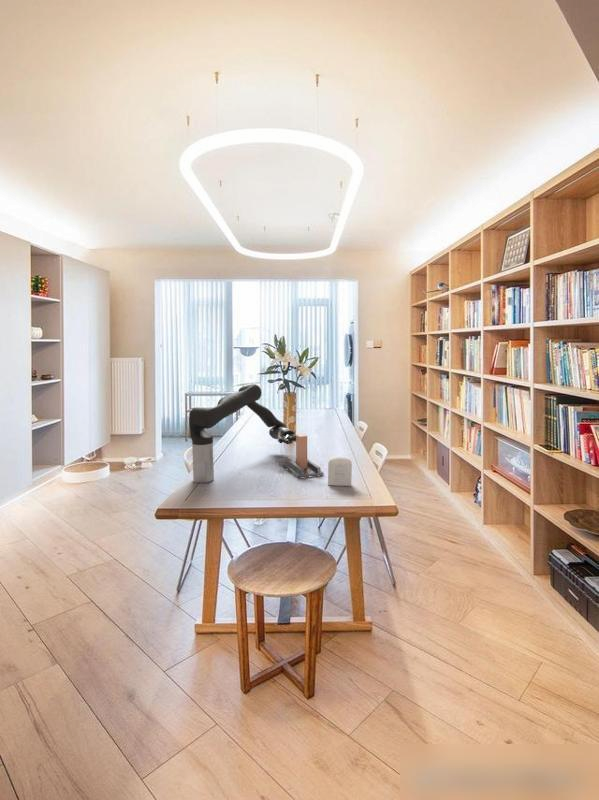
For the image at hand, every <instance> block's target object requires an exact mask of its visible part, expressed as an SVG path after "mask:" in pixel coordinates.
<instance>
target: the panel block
mask: <svg viewBox="0 0 599 800" xmlns="http://www.w3.org/2000/svg"><path fill="white" fill-rule="evenodd" d="M295 435H296V442H295V461H296V464H297V465H298V466H300V467H301V468H302V469H304V468H307V459H308V435H306V434H303V433H301V434H295Z"/></svg>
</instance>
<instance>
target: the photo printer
mask: <svg viewBox="0 0 599 800" xmlns="http://www.w3.org/2000/svg"><path fill="white" fill-rule="evenodd" d="M327 464H328V465H327V485H328V486H336V487H337V486H338V487H339V486H340V487H342V486H343V487H351V486H352V473H353V472H352V469H353V465H352V459H350V458H347V457H342V456H337V457H331V458H329V460H328V463H327ZM350 485H351V486H350Z"/></svg>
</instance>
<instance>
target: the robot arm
mask: <svg viewBox="0 0 599 800" xmlns="http://www.w3.org/2000/svg"><path fill="white" fill-rule="evenodd" d="M261 397H262V389H261V387H260V385H258V384H255V383H252V384H248V385H244V386H242V387H240V388H238V391H235V392H232V393H230V394H227V395H225V396H223V397H222V398H220V399H219V400H218V401H217V405H216V406H213V407H194V408H192V409H191V410H190V412H189V414H188V415H189V416H188V423H189V424H188V425H189V436H190V440H191V444H192V446H191V447H192V449H191V450H192V451H191V453H192V454H191V455H192V473H193V474H192V478H193V483H198V484H199V483H202V484H207V483H209V482H212V481H214V479H215V472H214V471H215V470H214V463H215V462H214V438H213V436H212V435H211V434H209V433H208V432H207V431H206V430H205V429H207V430H208V429H211V428H214V427H215V426H216V425H217V424H218V423H220V422H221V421H222V420H224V419H225V418H227V417H229V416H231V415H233V414H235V413H236V412H237V411H239V410H241V409H243V408H245V406H246V407H247V408H249V410H250V411H252V412H253V413H255V414H256V416H258V417H259V418H260V420H261V421H262V422H263V423H264V425H265V426H266V427H267V428H270V429H269V431H268V434H269V436H270V437H271V438H272V439H274V440H277V442H279V444H286V445H291V444H293V443H294V442H295V443H296V435H297V434H296V433H295V431H293V430H291V429H289V428H288V427H287V425H286V424H285V423H284V422H282V421H281V420H279V419H278V418H277V417H276V416H275V414H273V412H272V411H271V410H270V409H269V408H267V407H266V406H264V405H261V404H260V403H258V402H257V401H259V400H260V398H261Z"/></svg>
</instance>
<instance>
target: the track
mask: <svg viewBox="0 0 599 800" xmlns="http://www.w3.org/2000/svg"><path fill="white" fill-rule="evenodd" d="M282 465H283V466H284V467H285V468H284V467H283V466H282ZM281 466H282V467H283V468H284V469H286V470H287V469H288V470H289V471H290V472H291V473H290V472H289V471H288V470H287V471H288V472H289V473H290V474H292V475H293V474H294V475H295V476H296V477H297V478H298V479H301V478H300V477H307V478H310V477H309V476H315V477H319V476H318V475H323V476H324V472H323V471H322V469H321V466H318V465H317V464H316V463H314V462H313V461H311V460H310V459H308V458H307V468H304V469H302V468H301V467H300V466H298V465H297V464H296V460H295V461H294V460H292V459H291V458H289V457H288V456H287V457H284V462H281ZM294 475H293V476H294ZM295 476H294V477H295ZM296 477H295V478H296ZM297 478H296V479H297Z"/></svg>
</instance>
